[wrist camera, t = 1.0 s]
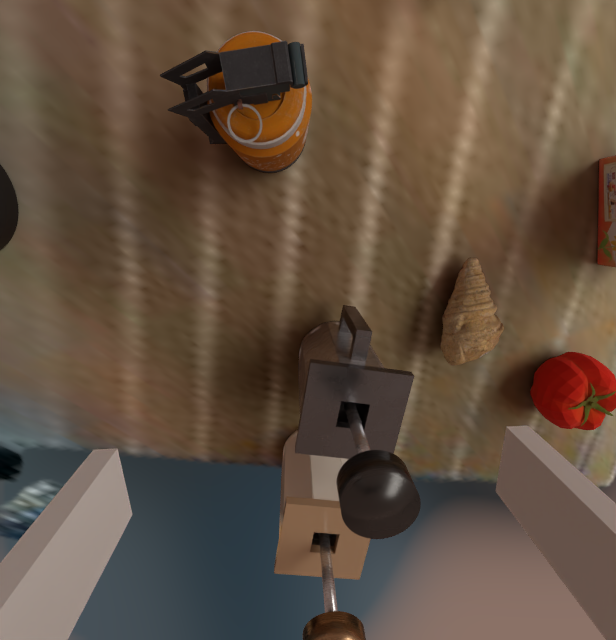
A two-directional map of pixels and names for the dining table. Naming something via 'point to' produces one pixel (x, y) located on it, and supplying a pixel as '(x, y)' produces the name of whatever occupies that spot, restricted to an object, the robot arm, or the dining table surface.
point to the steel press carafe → (347, 389)
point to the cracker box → (607, 212)
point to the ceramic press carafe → (314, 517)
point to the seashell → (470, 317)
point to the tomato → (574, 391)
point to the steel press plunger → (374, 485)
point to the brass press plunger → (331, 605)
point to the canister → (250, 98)
